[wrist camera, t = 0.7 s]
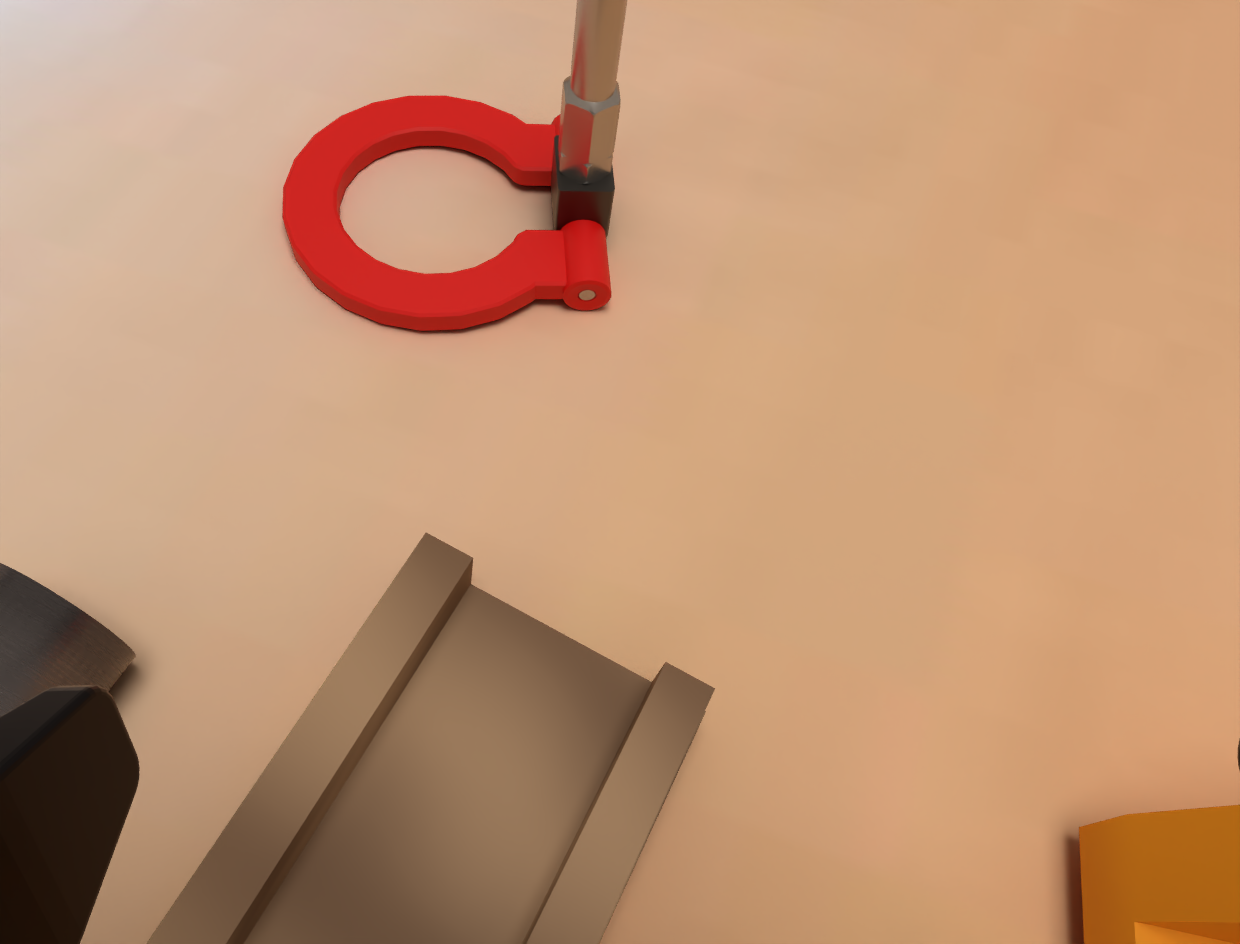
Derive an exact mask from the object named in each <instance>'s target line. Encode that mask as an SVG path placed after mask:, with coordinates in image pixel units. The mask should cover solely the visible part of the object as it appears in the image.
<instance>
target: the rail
mask: <svg viewBox="0 0 1240 944" xmlns="http://www.w3.org/2000/svg"><path fill="white" fill-rule="evenodd" d="M472 564H473V558H472V557H470V556H469V555H467V554H465V553H463V552H461V551H459V550H457V549H456V548H454V547H452V546H450V545H448V544H446V543H444V542H443V541H441V540H439V539H437V538H435V537H433V536H431V535H430V534H428V533H425V535H424V536H423V538H422V539H421V540H420V542H419V543H418V545H417V546H416V548H415V549H414V551H413V552H412V554H411V555H410V557H409V558H408V560H407V561H406V563H405V564H404V566H403V567H402V568H401V570H400V571H399V573H398V574H397V576H396V577H395V579H394V580H393V582H392V583H391V585H390V586H389V588H388V589H387V591H386V592H385V593H384V595H383V596H382V598H381V599H380V601H379V602H378V604H377V605H376V607H375V608H374V610H373V611H372V613H371V614H370V616H369V617H368V619H367V620H366V621H365V623H364V624H363V626H362V627H361V629H360V630H359V632H358V633H357V635H356V636H355V638H354V639H353V641H352V642H351V644H350V645H349V646H348V648H347V649H346V651H345V652H344V654H343V655H342V657H341V658H340V660H339V661H338V663H337V664H336V666H335V667H334V669H333V670H332V671H331V673H330V674H329V676H328V677H327V679H326V680H325V682H324V683H323V685H322V686H321V688H320V689H319V691H318V692H317V694H316V695H315V697H314V698H313V699H312V701H311V702H310V704H309V705H308V707H307V708H306V710H305V711H304V713H303V714H302V716H301V717H300V719H299V720H298V722H297V723H296V724H295V726H294V727H293V729H292V730H291V732H290V733H289V735H288V736H287V738H286V739H285V741H284V742H283V744H282V745H281V747H280V748H279V750H278V751H277V752H276V754H275V755H274V757H273V758H272V760H271V761H270V763H269V764H268V766H267V767H266V769H265V770H264V772H263V773H262V775H261V776H260V777H259V779H258V780H257V782H256V783H255V785H254V786H253V788H252V789H251V791H250V792H249V794H248V795H247V797H246V798H245V800H244V801H243V802H242V804H241V805H240V807H239V808H238V810H237V811H236V813H235V814H234V816H233V817H232V819H231V820H230V822H229V823H228V825H227V826H226V828H225V829H224V830H223V832H222V833H221V835H220V836H219V838H218V839H217V841H216V842H215V844H214V845H213V847H212V848H211V850H210V851H209V853H208V854H207V855H206V857H205V858H204V860H203V861H202V863H201V864H200V866H199V867H198V869H197V870H196V872H195V873H194V875H193V876H192V878H191V879H190V881H189V882H188V883H187V885H186V886H185V888H184V889H183V891H182V892H181V894H180V895H179V897H178V898H177V900H176V901H175V903H174V904H173V906H172V907H171V908H170V910H169V911H168V913H167V914H166V916H165V917H164V919H163V920H162V922H161V923H160V925H159V926H158V928H157V929H156V931H155V932H154V933H153V935H152V936H151V938H150V939H149V941H148V942H147V944H599V943H600V941H601V939H602V937H603V934H604V932H605V930H606V928H607V926H608V923H609V921H610V919H611V917H612V915H613V913H614V910H615V908H616V906H617V904H618V902H619V900H620V897H621V895H622V893H623V891H624V889H625V886H626V884H627V882H628V880H629V878H630V876H631V873H632V871H633V869H634V867H635V865H636V862H637V860H638V858H639V856H640V854H641V852H642V849H643V847H644V845H645V843H646V841H647V839H648V836H649V834H650V832H651V830H652V828H653V825H654V823H655V821H656V819H657V817H658V815H659V812H660V810H661V808H662V806H663V804H664V801H665V799H666V797H667V795H668V793H669V791H670V788H671V786H672V784H673V782H674V780H675V778H676V775H677V773H678V771H679V769H680V767H681V764H682V762H683V760H684V758H685V756H686V754H687V751H688V749H689V747H690V745H691V743H692V740H693V738H694V736H695V734H696V732H697V730H698V727H699V725H700V723H701V721H702V719H703V717H704V714H705V712H706V711H705V709H706V707H707V705H708V703H709V701H710V698H711V696H712V694H713V692H714V690H715V688H713V687H711V686H709V685H707V684H706V683H704V682H702V681H700V680H698V679H696V678H694V677H693V676H691V675H689V674H687V673H685V672H683V671H682V670H680V669H678V668H676V667H674V666H672V665H670V664H669V663H667V662H665V664H664V665H663V667H662V668H661V670H660V671H659V673H658V674H657V675H656V677H655V678H654V680H653V681H652V682H650V681H648V680H647V679H645V678H643V677H641V676H639V675H637V674H636V673H634V672H632V671H630V670H628V669H626V668H624V667H623V666H621V665H619V664H617V663H615V662H613V661H612V660H610V659H608V658H606V657H604V656H602V655H601V654H599V653H597V652H595V651H593V650H591V649H589V648H588V647H586V646H584V645H582V644H580V643H578V642H577V641H575V640H573V639H571V638H569V637H567V636H565V635H564V634H562V633H560V632H558V631H556V630H554V629H553V628H551V627H549V626H547V625H545V624H543V623H542V622H540V621H538V620H536V619H534V618H532V617H530V616H529V615H527V614H525V613H523V612H521V611H519V610H518V609H516V608H514V607H512V606H510V605H508V604H506V603H505V602H503V601H501V600H499V599H497V598H495V597H494V596H492V595H490V594H488V593H486V592H484V591H483V590H481V589H479V588H477V587H475V586H473V585H471V576H472Z"/></svg>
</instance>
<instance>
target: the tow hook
mask: <svg viewBox="0 0 1240 944" xmlns="http://www.w3.org/2000/svg"><path fill="white" fill-rule="evenodd" d="M626 5H627V0H577V7H576V19H575V31H574V42H573V54H572V65H571V76H569V77H567V78H566V79H565V80H564V82H563V90H562V102H561V114H560V115H558V116H557V117H556V118H555V119H554V120H553V122H552V124H551V125H547V124H526V123H524V122H523V121H521V120H520V119H518V118H517V117H515V116H514V115H512V114H509V113H507V112H504V111H502V110H499V109H496V108H494V107H491V106H489V105H486V104H484V103H481V102H477V101H471V100H466V99H460V98H455V97H449V96H405V97H400V98H395V99H389V100H384V101H379V102H374V103H371V104H369V105H366V106H364V107H362V108H359V109H357V110H354V111H352V112H349V113H347V114H345V115H342V116H340V117H339V118H338V119H336V120H335V121H333V122H332V123H331V124H329V125H328V126H326V127H325V128H324V129H322V130H321V131H319V132H318V133H317V134H315V135H314V136H313V137H312V138H311V140H310V141H309V142H308V143H307V145H306V146H305V147H304V148H303V149H302V151H301V152H300V153H299V154H298V156H297V157H296V158H295V159H294V162H293V164H292V167H291V169H290V172H289V174H288V177H287V179H286V182H285V184H284V187H283V220H284V224H285V228H286V232H287V235H288V238H289V241H290V244H291V246H292V249H293V252H294V255H295V258H296V261H297V262H298V264H299V265H300V266H301V268H302V269H303V270H304V272H305V273H306V274H307V275H308V277H309V278H310V279H311V281H312V282H313V283H314V285H315V286H316V287H317V288H318V289H319V290H321V291H322V292H323V293H325V294H326V295H328V296H329V297H330V298H332V299H333V300H334V301H336V302H337V303H338V304H340V305H341V306H342V307H344V308H345V309H347V310H349V311H352V312H354V313H357V314H359V315H361V316H364V317H366V318H369V319H371V320H373V321H376V322H378V323H381V324H385V325H391V326H397V327H403V328H408V329H414V330H420V331H427V330H452V329H464V328H468V327H472V326H475V325H479V324H483V323H487V322H491V321H494V320H498V319H501V318H503V317H504V316H506V315H508V314H510V313H512V312H514V311H516V310H518V309H520V308H521V307H523V306H525V305H527V304H529V303H531V302H532V301H533V300H534V299H563V300H564V302H565V303H566V304H567V305H568V306H569V307H571V308H573V309H577V310H593V309H597V308H600V307H602V306H604V305H605V304H606V303H607V302H608V301H609V300H610V298H611V285H610V275H609V265H608V255H607V245H606V237H607V235H608V229H609V223H610V216H611V209H612V203H613V196H614V190H615V186H614V177H613V168H612V159H613V152H614V146H615V139H616V132H617V125H618V118H619V112H620V92H619V85H618V83H617V81H616V78H617V71H618V64H619V57H620V49H621V42H622V35H623V27H624V20H625V13H626ZM416 146H446V147H452V148H457V149H463V150H466V151H469V152H471V153H474V154H477V155H479V156H482V157H484V158H486V159H488V160H489V161H491V162H492V163H494V164H495V165H497V166H498V167H500V168H501V169H502V170H504V171H505V172H506V174H507V175H508V176H509V177H510V178H511V179H512V180H513V181H514V182H515V183H518V184H520V185H530V186H551V196H552V210H553V224H554V230H525V231H523V232H521V233H519V234H518V235H517V236H516V238H515V239H514V241H513V242H512V243H511V244H510V245H509V246H508V247H507V248H505V249H504V250H503V251H502V252H501V253H500V254H499V255H497V256H496V257H494V258H492V259H490V260H488V261H486V262H484V263H482V264H480V265H478V266H476V267H473V268H469V269H465V270H461V271H457V272H453V273H434V274H423V273H417V272H412V271H406V270H400V269H397V268H395V267H392V266H390V265H388V264H385V263H383V262H380V261H378V260H376V259H374V258H373V257H372V256H370V255H369V254H367V253H366V252H365V251H363V250H362V249H361V248H359V247H358V246H357V245H356V244H355V243H354V241H353V240H352V239H351V238H350V236H349V235H348V234H347V233H346V231H345V230H344V228H343V226H342V223H341V220H340V204H341V201H342V198H343V195H344V192H345V190H346V188H347V186H348V185H349V184H350V182H351V181H352V180H353V178H354V177H355V176H356V174H357V173H358V172H359V171H361V170H362V169H363V168H365V167H366V166H367V165H369V164H370V163H371V162H373V161H374V160H375V159H378V158H380V157H382V156H384V155H387V154H389V153H391V152H394V151H396V150H401V149H406V148H411V147H416Z"/></svg>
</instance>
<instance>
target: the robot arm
mask: <svg viewBox="0 0 1240 944" xmlns="http://www.w3.org/2000/svg"><path fill="white" fill-rule="evenodd" d="M1238 766H1239V770H1240V740H1239V745H1238ZM138 781H139V761H138V757H137V754H136V751H135V749H134V746H133V744H132V742H131V739H130V737H129V734H128V732H127V730H126V727H125V725H124V722H123V720H122V718H121V715H120V713H119V710H118V708H117V706H116V703H115V701H114V699H113V697H112V695H111V694H110V693H109V692H108V691H107V690H106V689H104V688H103V687H100V686H96V685H76V686H56V687H52V688H49V689H47V690H45V691H43V692H41V693H39V694H38V695H36V696H34V697H33V698H31V699H29V700H27V701H26V702H24V703H22V704H21V705H19V706H17V707H15V708H14V709H12V710H10V711H9V712H7V713H5V714H3V715H2V716H0V944H80V941H81V939H82V936H83V934H84V931H85V928H86V926H87V923H88V920H89V917H90V915H91V912H92V909H93V907H94V904H95V901H96V899H97V896H98V893H99V890H100V888H101V885H102V882H103V880H104V877H105V874H106V871H107V869H108V866H109V863H110V861H111V858H112V855H113V852H114V850H115V847H116V844H117V842H118V839H119V836H120V833H121V831H122V828H123V825H124V823H125V820H126V817H127V814H128V812H129V809H130V806H131V804H132V801H133V798H134V795H135V793H136V789H137V786H138Z"/></svg>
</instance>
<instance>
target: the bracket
mask: <svg viewBox="0 0 1240 944" xmlns="http://www.w3.org/2000/svg"><path fill="white" fill-rule="evenodd" d="M1079 839H1080V862H1081V884H1082V907H1083V929H1084V944H1240V805H1233V806H1221V807H1209V808H1197V809H1185V810H1173V811H1161V812H1149V813H1138V814H1127V815H1123V816H1119V817H1115V818H1112V819H1108V820H1104V821H1100V822H1097V823H1093V824H1089V825H1085V826H1082V827H1079Z"/></svg>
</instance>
